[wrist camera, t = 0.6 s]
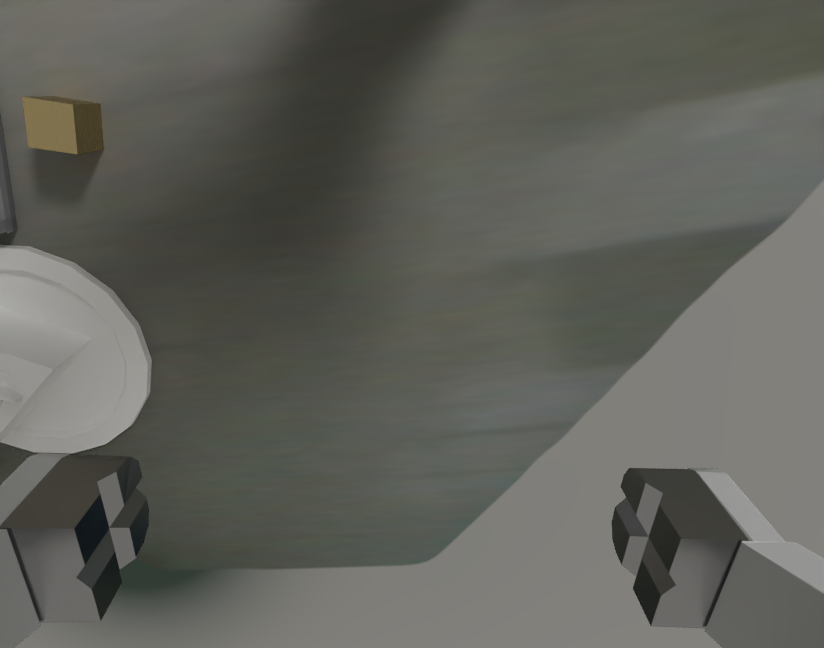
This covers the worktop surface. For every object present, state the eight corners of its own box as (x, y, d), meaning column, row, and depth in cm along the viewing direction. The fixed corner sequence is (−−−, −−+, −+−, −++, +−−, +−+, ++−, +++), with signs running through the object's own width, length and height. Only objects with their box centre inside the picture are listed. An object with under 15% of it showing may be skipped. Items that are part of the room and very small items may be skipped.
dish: (-80, 204, 51) (-201, 232, 41) (177, 298, 56) (126, 345, 45) (-94, 404, 60) (-197, 469, 50) (129, 471, 64) (77, 544, 54)
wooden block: (54, 96, 47) (22, 96, 43) (100, 103, 48) (72, 104, 44) (59, 142, 49) (28, 147, 45) (104, 149, 49) (77, 154, 45)
